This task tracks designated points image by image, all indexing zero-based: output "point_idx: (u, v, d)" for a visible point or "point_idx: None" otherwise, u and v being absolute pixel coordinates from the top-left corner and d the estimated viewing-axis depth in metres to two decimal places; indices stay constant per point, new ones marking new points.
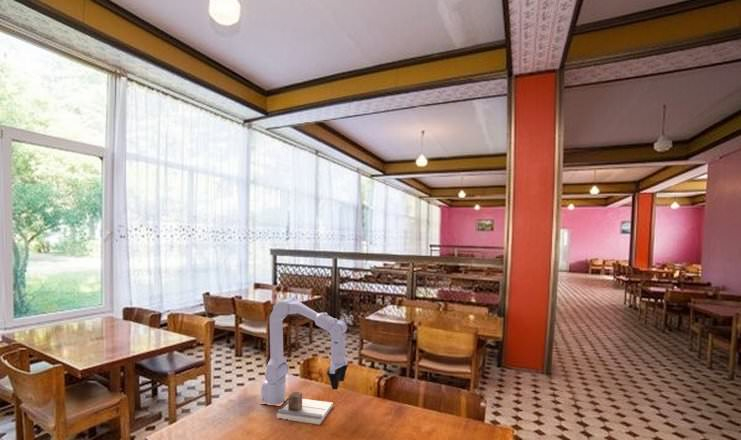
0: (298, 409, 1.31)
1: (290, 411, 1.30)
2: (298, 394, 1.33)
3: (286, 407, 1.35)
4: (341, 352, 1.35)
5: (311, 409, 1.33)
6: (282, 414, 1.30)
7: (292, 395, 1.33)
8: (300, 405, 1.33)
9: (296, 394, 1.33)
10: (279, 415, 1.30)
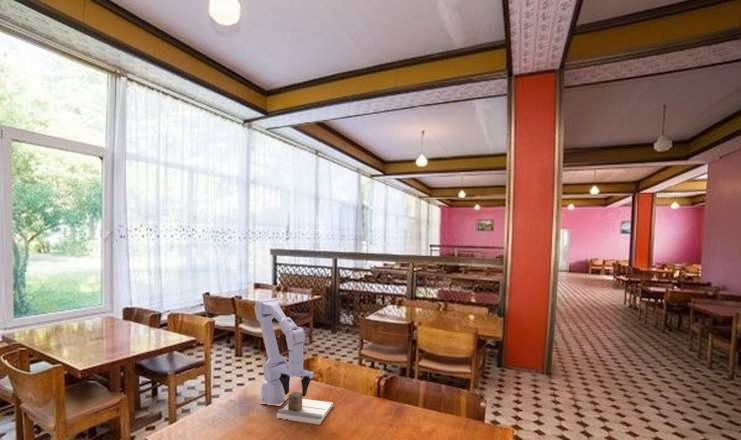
0: (298, 409, 1.31)
1: (290, 411, 1.30)
2: (298, 394, 1.33)
3: (286, 407, 1.35)
4: (294, 361, 1.31)
5: (311, 409, 1.33)
6: (282, 414, 1.30)
7: (292, 395, 1.33)
8: (300, 405, 1.33)
9: (296, 394, 1.33)
10: (279, 415, 1.30)
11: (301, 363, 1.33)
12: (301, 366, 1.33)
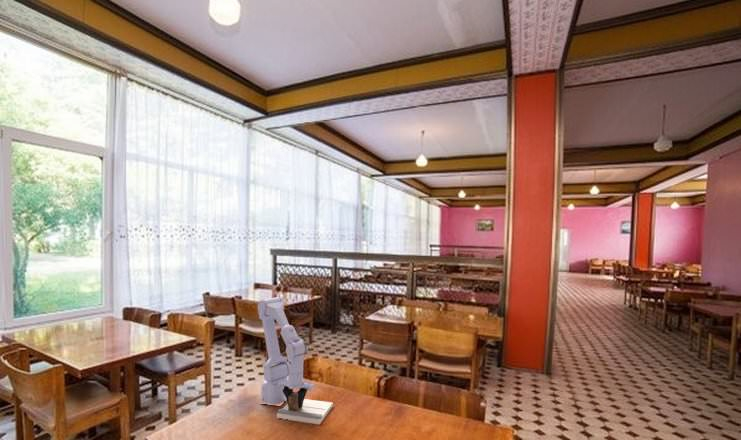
0: (298, 409, 1.31)
1: (290, 411, 1.30)
2: None
3: (286, 407, 1.35)
4: (294, 373, 1.31)
5: (311, 409, 1.33)
6: (282, 414, 1.30)
7: (292, 395, 1.33)
8: None
9: (296, 394, 1.33)
10: (279, 415, 1.30)
11: (301, 375, 1.33)
12: (301, 378, 1.33)
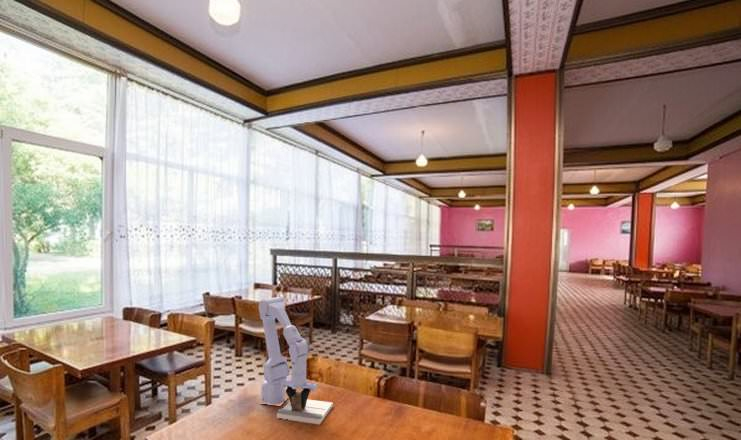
0: (301, 409, 1.31)
1: (290, 411, 1.30)
2: None
3: (286, 407, 1.35)
4: (298, 374, 1.31)
5: (311, 409, 1.33)
6: (282, 414, 1.30)
7: (295, 395, 1.32)
8: None
9: (299, 394, 1.33)
10: (279, 415, 1.30)
11: (304, 375, 1.32)
12: (304, 378, 1.32)
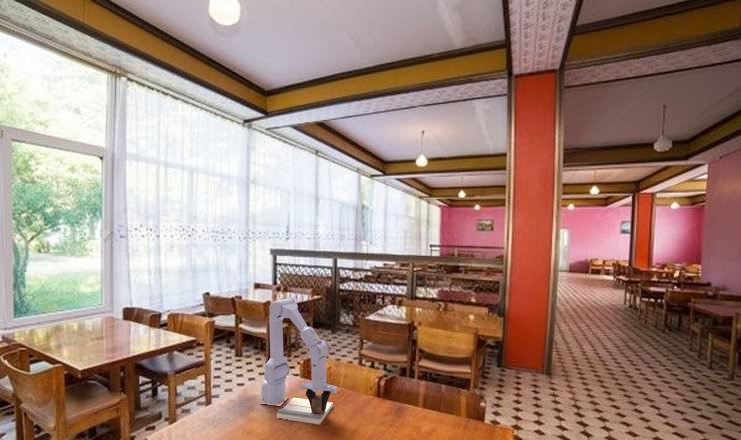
0: (322, 412, 1.29)
1: (290, 411, 1.30)
2: (321, 397, 1.31)
3: (286, 407, 1.35)
4: (319, 376, 1.29)
5: None
6: (282, 414, 1.30)
7: (315, 398, 1.30)
8: None
9: (319, 397, 1.31)
10: (279, 415, 1.30)
11: (324, 377, 1.30)
12: (324, 381, 1.30)
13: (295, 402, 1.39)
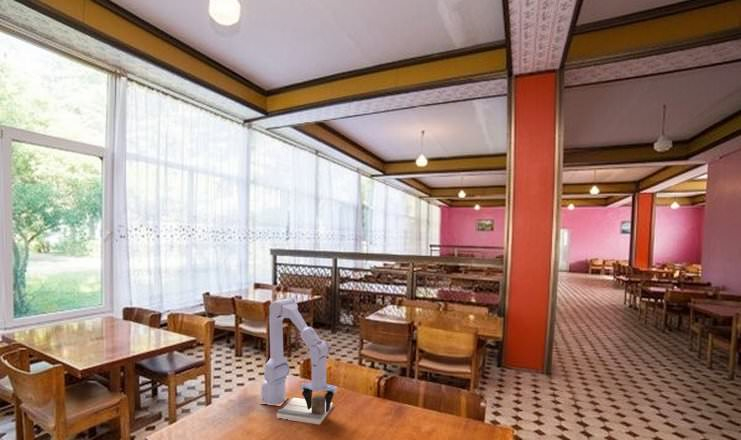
0: (322, 412, 1.29)
1: (290, 411, 1.30)
2: (321, 397, 1.31)
3: (286, 407, 1.35)
4: (319, 376, 1.29)
5: (311, 409, 1.33)
6: (282, 414, 1.30)
7: (315, 398, 1.30)
8: (323, 408, 1.31)
9: (319, 397, 1.31)
10: (279, 415, 1.30)
11: (324, 377, 1.30)
12: (324, 381, 1.30)
13: (295, 402, 1.39)
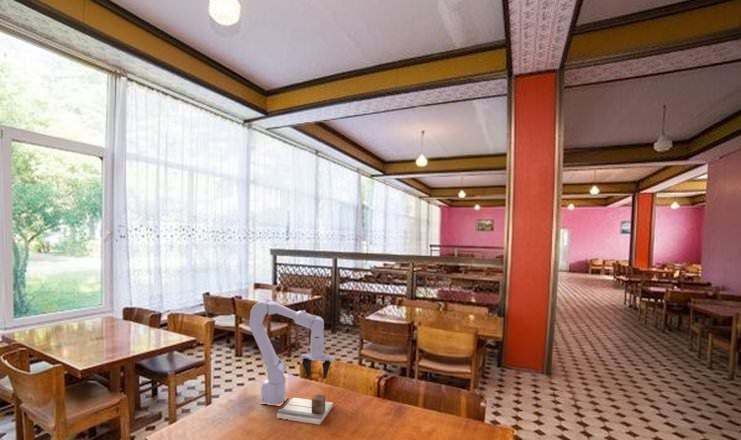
0: (322, 412, 1.29)
1: (290, 411, 1.30)
2: (321, 397, 1.31)
3: (286, 407, 1.35)
4: (321, 346, 1.45)
5: (311, 409, 1.33)
6: (282, 414, 1.30)
7: (315, 398, 1.30)
8: (323, 408, 1.31)
9: (319, 397, 1.31)
10: (279, 415, 1.30)
11: (322, 348, 1.45)
12: (322, 351, 1.45)
13: (295, 402, 1.39)
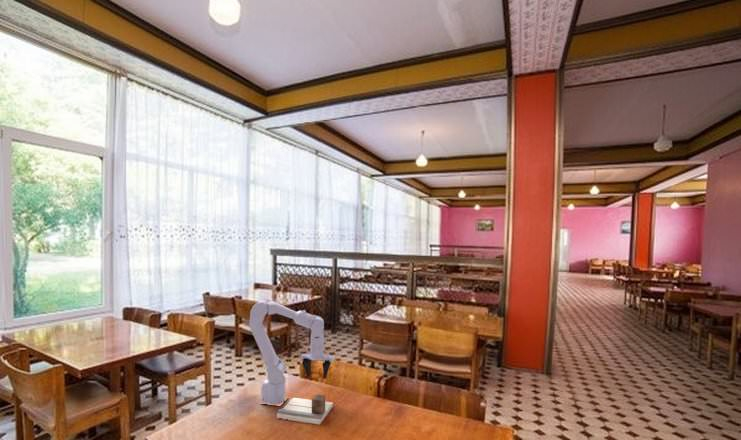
0: (322, 412, 1.29)
1: (290, 411, 1.30)
2: (321, 397, 1.31)
3: (286, 407, 1.35)
4: (321, 346, 1.45)
5: (311, 409, 1.33)
6: (282, 414, 1.30)
7: (315, 398, 1.30)
8: (323, 408, 1.31)
9: (319, 397, 1.31)
10: (279, 415, 1.30)
11: (322, 348, 1.45)
12: (322, 351, 1.45)
13: (295, 402, 1.39)
